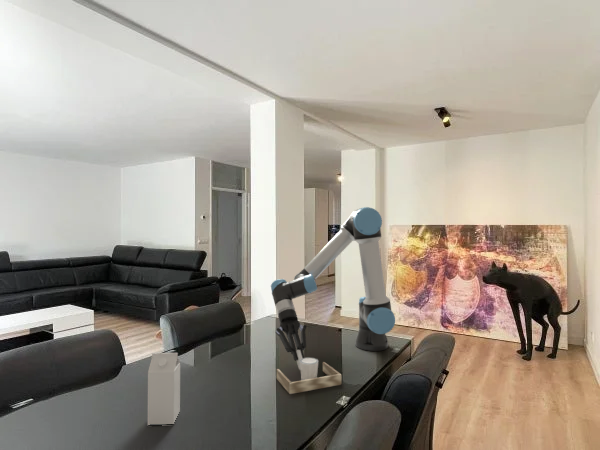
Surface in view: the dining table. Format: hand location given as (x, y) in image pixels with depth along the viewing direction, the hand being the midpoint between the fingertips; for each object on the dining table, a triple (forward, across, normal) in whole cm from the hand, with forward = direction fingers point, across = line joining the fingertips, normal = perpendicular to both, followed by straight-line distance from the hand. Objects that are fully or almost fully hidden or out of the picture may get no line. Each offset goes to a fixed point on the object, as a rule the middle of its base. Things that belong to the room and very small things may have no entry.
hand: (301, 367), depth 135 cm
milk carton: (+12, +48, +7) cm, 50 cm away
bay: (+6, 0, +1) cm, 6 cm away
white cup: (+5, -1, 0) cm, 5 cm away
